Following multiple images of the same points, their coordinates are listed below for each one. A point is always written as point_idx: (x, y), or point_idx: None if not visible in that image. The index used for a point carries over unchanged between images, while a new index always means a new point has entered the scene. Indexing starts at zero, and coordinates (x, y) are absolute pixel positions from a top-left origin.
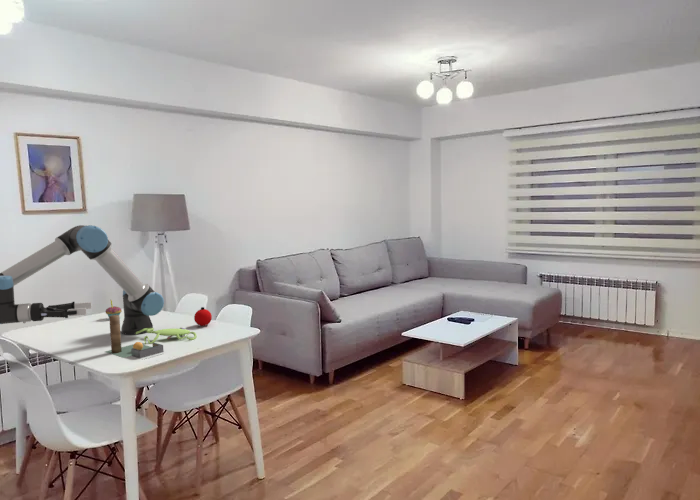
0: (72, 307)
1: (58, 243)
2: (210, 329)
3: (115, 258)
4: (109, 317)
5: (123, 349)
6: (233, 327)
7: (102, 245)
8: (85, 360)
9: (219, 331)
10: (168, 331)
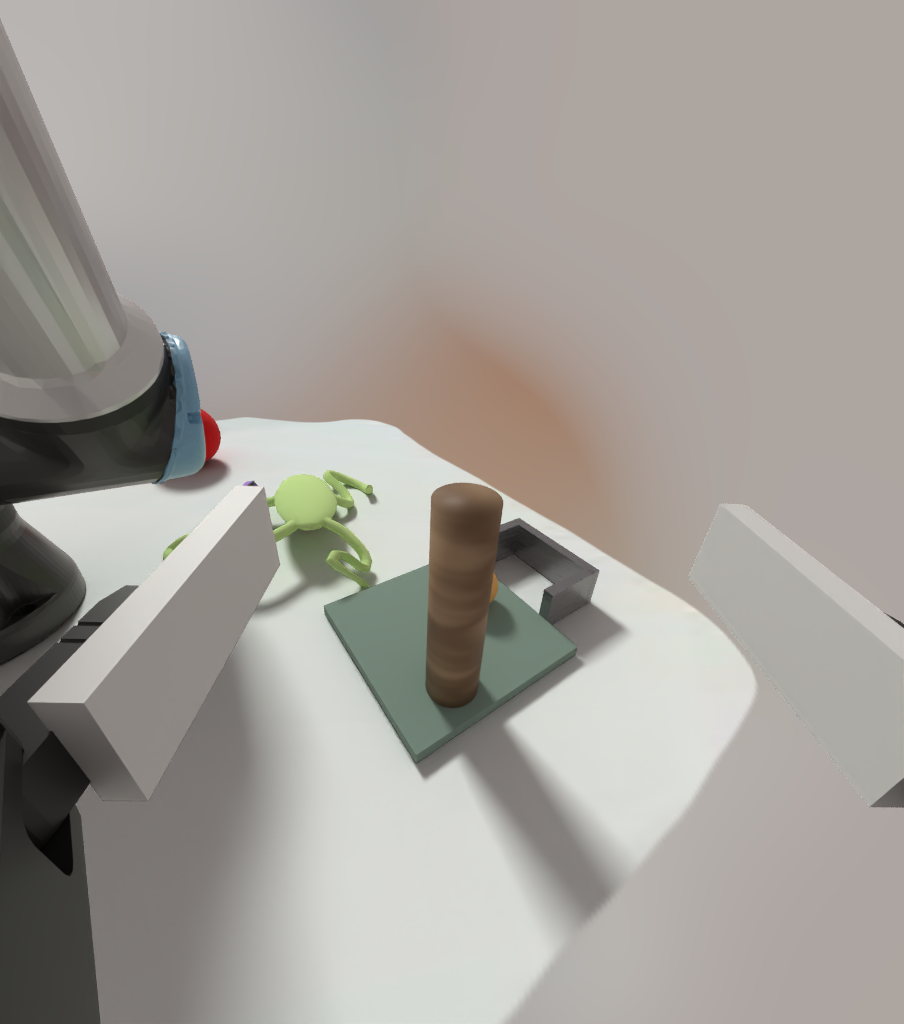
0: (32, 840)
1: None
2: (267, 458)
3: None
4: (482, 522)
5: (415, 655)
6: (293, 433)
7: None
8: (542, 889)
9: (312, 450)
10: (324, 498)
